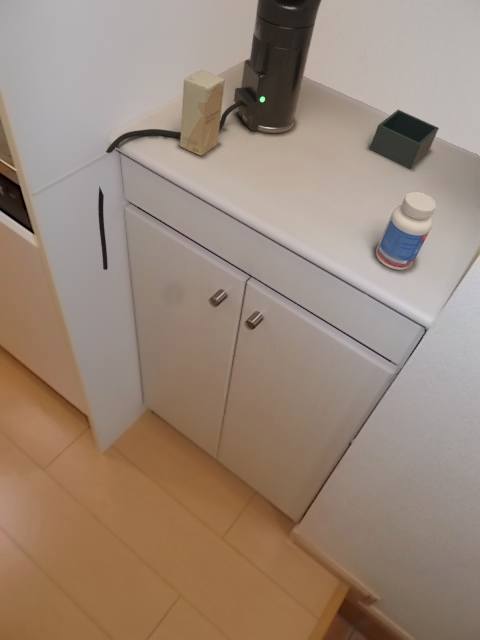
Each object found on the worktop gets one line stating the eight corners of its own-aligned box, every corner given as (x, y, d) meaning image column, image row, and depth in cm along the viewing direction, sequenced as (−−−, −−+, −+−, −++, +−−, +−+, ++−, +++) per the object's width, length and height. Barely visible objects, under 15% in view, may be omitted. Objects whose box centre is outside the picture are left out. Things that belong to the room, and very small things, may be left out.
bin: (410, 168, 89) (420, 144, 86) (369, 149, 92) (378, 124, 88) (428, 151, 94) (439, 127, 91) (389, 132, 96) (398, 109, 93)
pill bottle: (413, 274, 72) (442, 219, 65) (374, 266, 72) (399, 209, 65) (412, 249, 76) (440, 193, 68) (375, 240, 76) (399, 184, 68)
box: (200, 157, 84) (206, 89, 75) (178, 146, 85) (181, 79, 76) (218, 143, 87) (226, 77, 78) (197, 133, 88) (202, 67, 80)
